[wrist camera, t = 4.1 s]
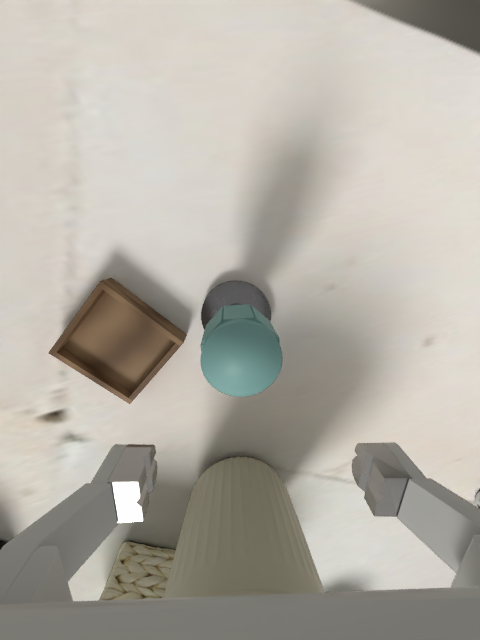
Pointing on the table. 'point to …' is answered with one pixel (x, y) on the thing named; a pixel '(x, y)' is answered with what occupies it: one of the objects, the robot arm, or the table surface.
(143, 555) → the storage basket
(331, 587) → the table surface
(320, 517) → the table surface
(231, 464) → the canister
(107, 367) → the walnut tray
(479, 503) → the supplement bottle
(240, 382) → the cap
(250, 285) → the post
